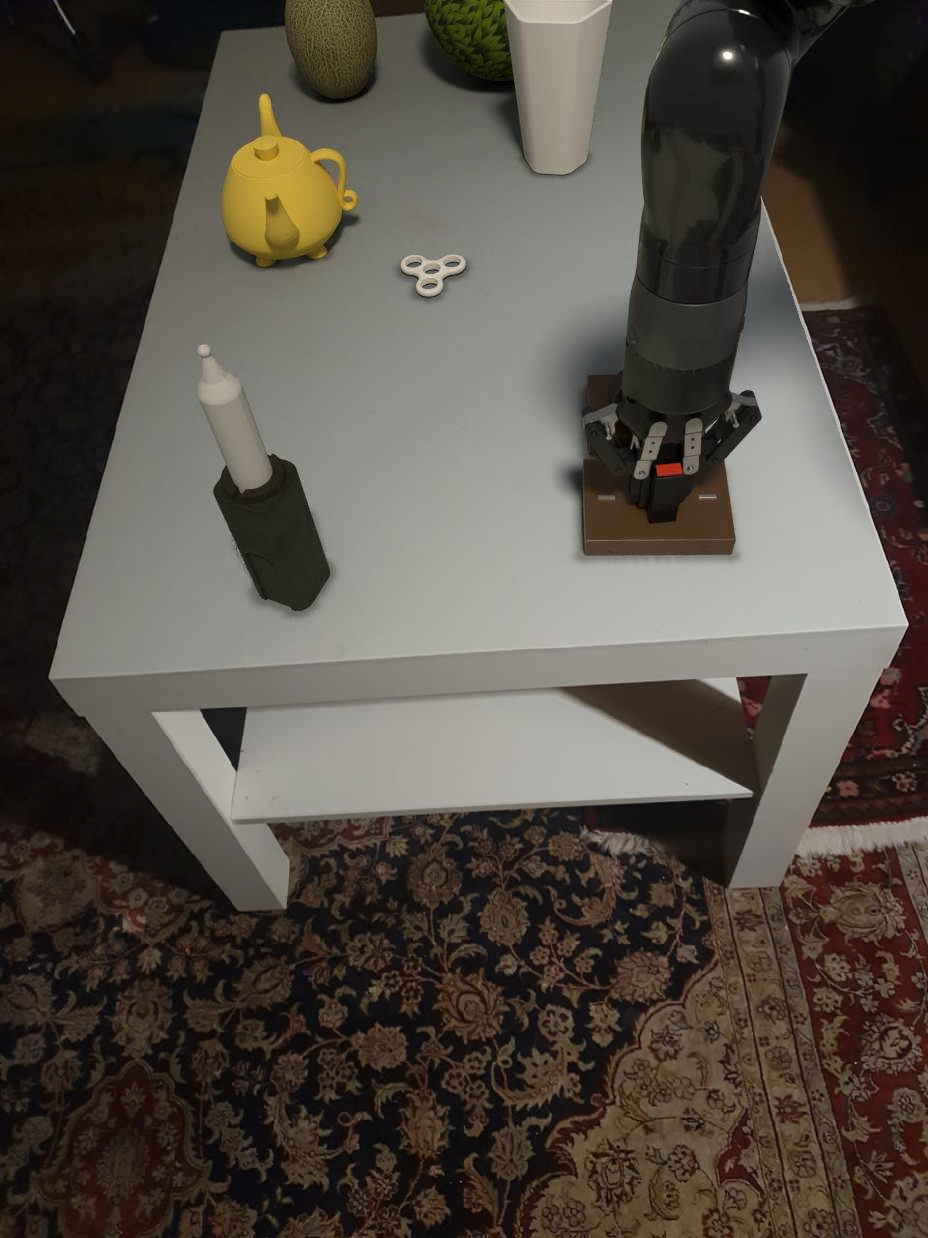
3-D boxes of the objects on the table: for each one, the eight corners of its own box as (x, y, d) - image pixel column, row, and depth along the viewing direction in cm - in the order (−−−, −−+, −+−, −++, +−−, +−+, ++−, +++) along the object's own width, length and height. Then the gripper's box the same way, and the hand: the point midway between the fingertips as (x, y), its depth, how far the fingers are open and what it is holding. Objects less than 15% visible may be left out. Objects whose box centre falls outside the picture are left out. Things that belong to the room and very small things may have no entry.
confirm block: (694, 390, 86) (700, 356, 83) (702, 453, 82) (709, 420, 78) (586, 392, 87) (588, 359, 83) (589, 455, 82) (591, 422, 79)
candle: (335, 568, 78) (259, 328, 57) (305, 614, 75) (214, 382, 54) (284, 550, 79) (191, 310, 58) (252, 595, 77) (144, 362, 56)
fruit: (282, 94, 121) (252, -36, 108) (348, 60, 125) (327, -70, 112) (335, 124, 116) (310, -8, 103) (403, 88, 120) (386, -44, 107)
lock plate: (720, 472, 80) (724, 455, 78) (731, 555, 75) (736, 538, 74) (582, 474, 81) (583, 457, 80) (584, 555, 76) (585, 539, 75)
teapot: (372, 284, 98) (354, 183, 88) (234, 306, 98) (200, 207, 88) (355, 179, 109) (337, 79, 99) (231, 198, 109) (201, 100, 99)
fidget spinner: (467, 258, 99) (466, 252, 98) (461, 297, 95) (461, 291, 95) (402, 259, 100) (402, 253, 99) (395, 298, 96) (394, 291, 96)
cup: (558, 195, 104) (561, 33, 90) (492, 165, 108) (484, 6, 94) (619, 150, 108) (631, -12, 94) (553, 123, 112) (554, -36, 98)
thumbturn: (638, 473, 78) (644, 425, 73) (663, 471, 78) (671, 422, 73) (649, 524, 75) (656, 476, 70) (676, 521, 75) (685, 474, 70)
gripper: (774, 281, 63) (732, 455, 78) (573, 302, 64) (568, 471, 78) (802, 354, 59) (752, 524, 74) (587, 376, 60) (580, 540, 74)
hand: (657, 496), depth 76 cm, fingers closed on thumbturn, 2 cm apart
